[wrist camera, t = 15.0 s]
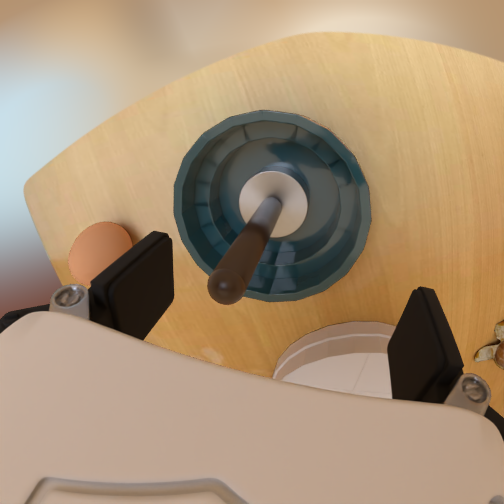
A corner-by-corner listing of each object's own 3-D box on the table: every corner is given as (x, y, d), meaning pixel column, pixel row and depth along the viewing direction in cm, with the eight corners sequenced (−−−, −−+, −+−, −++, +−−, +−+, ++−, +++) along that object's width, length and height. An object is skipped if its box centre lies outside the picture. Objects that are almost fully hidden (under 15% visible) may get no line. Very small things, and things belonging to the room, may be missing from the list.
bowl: (206, 105, 25) (177, 104, 20) (375, 129, 23) (390, 133, 18) (198, 252, 33) (174, 280, 27) (341, 281, 30) (342, 316, 25)
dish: (395, 427, 39) (396, 451, 35) (266, 414, 43) (260, 439, 39) (456, 329, 29) (468, 356, 25) (282, 307, 33) (275, 336, 29)
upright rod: (248, 161, 26) (157, 221, 12) (314, 172, 25) (300, 248, 11) (242, 222, 29) (164, 328, 15) (303, 233, 28) (276, 357, 14)
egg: (105, 204, 33) (53, 233, 25) (149, 225, 33) (100, 261, 25) (100, 248, 36) (55, 282, 28) (140, 270, 36) (98, 311, 28)
